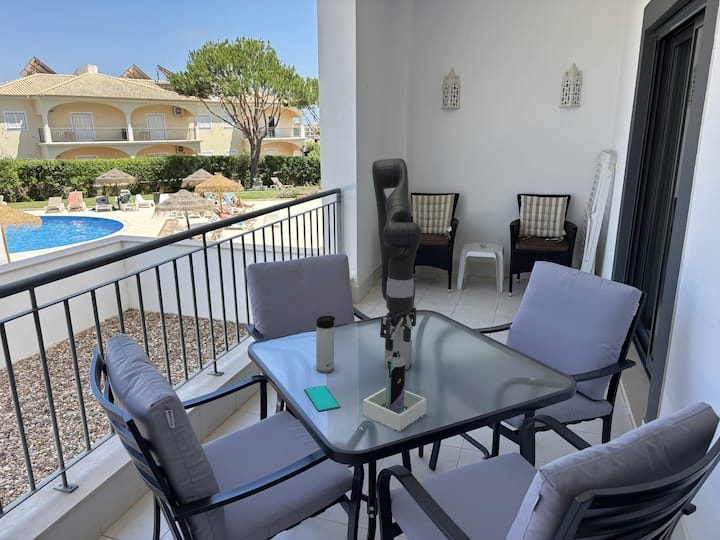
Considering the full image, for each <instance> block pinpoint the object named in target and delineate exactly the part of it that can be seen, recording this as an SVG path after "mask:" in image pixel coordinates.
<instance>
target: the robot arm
mask: <svg viewBox="0 0 720 540" xmlns="http://www.w3.org/2000/svg"><path fill="white" fill-rule="evenodd" d="M371 171H372V172H371V173H372V181H373V182H372V183H373V188H374V195H375V201H376V208H377V211H376V212H377V224H378V225H377V226H378V228H377V229H378V240H379V249H380V258H381V293H382V298H383V300H384V301H386V309H387V310H388V312H387V313H386V315H385V316H381V319H380V331H379V333H380V335H379V337H381V338H383V339H385V341H384V343H385V344H384V367H385V368H386V369H387V358H388V357H390V356H392V354H393V352H395V351H399V354H400V355H401V357H404V358H405V362H406V363H405V371H406V370H409V368H410V366H411V364H412V348H413V347H412V345H413V341H412V330H413V328H415V327H416V326H417V307H415V299H416V298H415V297H416V284H415V282H414V265H415V264H414V263H415V259H416V256H417V251H418V249H419V246H420V244H421V243H420V242H421V240H422V235H423V233H422V229H421V226H420V225H419V224H418V223H416V222H411V221H412V214H411V208H410V204H409V175H408V166H407V163H406V161H405V159H404V158H399V157H396V158H387V159H378V160H375V161H373V163H372V168H371ZM385 189H386V190H387V189H393V190H392V192H390V193H389V195H388V197H387V195H386V192H385ZM405 249H406V250H405Z"/></svg>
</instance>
